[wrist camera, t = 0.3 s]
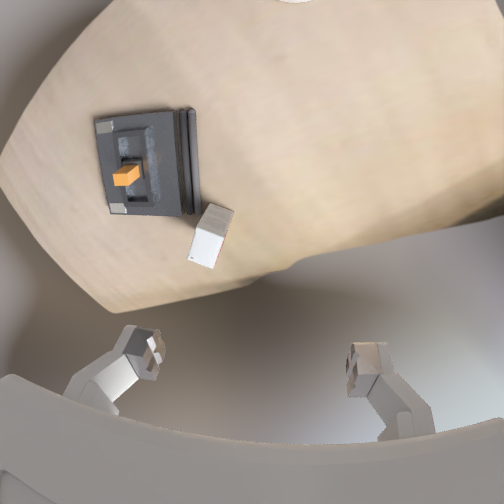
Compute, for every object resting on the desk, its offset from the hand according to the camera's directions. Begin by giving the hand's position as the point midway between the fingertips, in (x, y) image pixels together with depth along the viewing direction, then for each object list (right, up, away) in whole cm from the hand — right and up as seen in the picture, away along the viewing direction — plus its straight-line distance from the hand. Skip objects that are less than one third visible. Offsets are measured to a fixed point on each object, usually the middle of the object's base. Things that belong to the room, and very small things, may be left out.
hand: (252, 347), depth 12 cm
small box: (-7, +10, +52) cm, 53 cm away
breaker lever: (-24, +21, +44) cm, 54 cm away
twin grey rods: (-12, +21, +45) cm, 51 cm away
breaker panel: (-23, +22, +46) cm, 56 cm away
